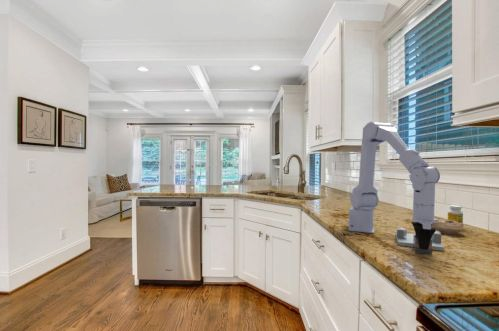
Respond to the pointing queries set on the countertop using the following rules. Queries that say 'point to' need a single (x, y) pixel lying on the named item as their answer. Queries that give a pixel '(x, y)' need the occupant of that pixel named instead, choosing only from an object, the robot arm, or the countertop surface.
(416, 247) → the block
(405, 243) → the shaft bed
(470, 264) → the countertop surface
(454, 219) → the supplement bottle
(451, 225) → the pottery oil lamp
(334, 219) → the countertop surface
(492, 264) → the countertop surface
